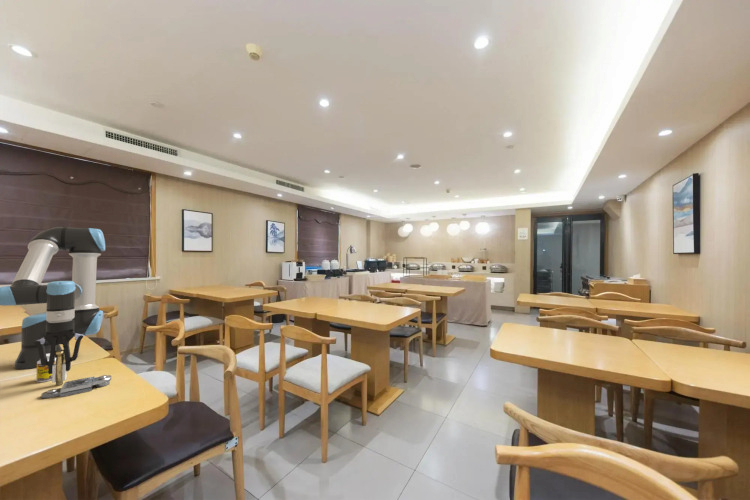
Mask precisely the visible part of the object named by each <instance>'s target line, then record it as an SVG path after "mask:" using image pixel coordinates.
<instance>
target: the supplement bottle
mask: <svg viewBox="0 0 750 500" xmlns="http://www.w3.org/2000/svg"><path fill="white" fill-rule="evenodd" d="M46 356H47V361H49V357H50V353H49V354H46ZM54 364H56V358H55V362H54ZM50 381H52V374H49V373H48V366H47V365H41V361H40V360H39V361H38V362H37V368H36V382H37V383H46V382H50Z"/></svg>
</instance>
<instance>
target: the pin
mask: <svg viewBox="0 0 750 500" xmlns="http://www.w3.org/2000/svg"><path fill="white" fill-rule="evenodd" d="M55 355H56V382H55V386H60V385H64V381H62V368H63V363H64V362H65V356H64V349H62V350H58V351H56V352H55Z"/></svg>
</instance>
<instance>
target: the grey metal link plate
mask: <svg viewBox="0 0 750 500" xmlns="http://www.w3.org/2000/svg"><path fill="white" fill-rule="evenodd" d="M111 380H112V375H111V374H110V375H109V374H108V375H107V374H104V375H100V376H96V377H95V376H90V377H84V378H83V377H82V378H79V379H78V378H77V379H74V380H69V381H64V382H63V384H62V386H61V387H59V388H52V389H49V390H47V391H46V390H45V391H44V392H42V393H41V394H40V395H41V396H40V398H41V399H42V400H44V399H46V400H47V399H51V398H52V399H53V398H57V397H60V398H64V397H69V396H72V395H77V394H83V393H88V392H92V391H93V387H94V386H95V387H96V388H103V387H107V386H109V385H110V382H111Z"/></svg>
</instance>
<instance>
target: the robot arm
mask: <svg viewBox="0 0 750 500" xmlns="http://www.w3.org/2000/svg"><path fill="white" fill-rule="evenodd" d="M27 249H28V251H27V254H26V255H25V257H24V259H23V261H22V263H21V265H20V267H19V269H18V270H17V273H16V275H15V277H14V279H13V281H12V283H11V285H6V286H1V287H0V306H13V307H15V306H26V305H27V306H28V305H37V304H39V305H40V304H46V311H45V312H40V313H36V314H32V315H28V316H26V317H24V318H23V319H22V323H21V327H20V329H21V341H20V342H21V343H20V344H21V349H20V351H19V353H18V355H17V357H16V360H15V363H14V369H16V370H28V369H30V370H31V369H35V368H36V369H37V362H38V361H39V360H40V361H41V365H47V366H48V373H49V374H52V380H51V381H52V382H51V383H52V384H54V383H56V364H54V362H55V358H56V355H55V352H56V351H58V350H64V363H63V368H62V381H63V382H66V380H67V378H68V377H67V375H68V374H67V373H68V372H69V371H70V370H71V367H72V366H71V362H74V361H76V360H77V358H78V355H79V350H80V347H81V346H80V345H81V343H82V339H83V338H84V337H86V336H90V335H91V336H92V335H96V334H97V333H98V332H99V331H100V329H101V326H102V323H103V319H104V311H103V310H100V306H99V305H97V304H96V298H97V297H96V293H97V292H96V291H97V267H98V266H97V265H98V257H100V256H101V255H102V252H105V251H106V239H105V236H104V233H103V231H102V229H100V228H93V227H91V228H90V227H68V226H56V227H52V228H48V229H45V230H43V231H41V232H39V233H37V234H36V235H35V236H33V237H32V238H31V239H30V241H29V243H28V244H27ZM59 251H62V252H63V251H66V252H68V255H69V256H71V257H72V274H71V275H72V276H71V280H57V281H50V282H48V283H47V284H42V282H43V281H44V277H45V275H46V272H47V271H48V268H49V266H50V264H51V261H52V258H53V256H54V255H56V254H57V253H58V252H59ZM73 338H74V340H76V341H75V343H74V349H73V352H72V356H71V349H70V341H72V339H73ZM61 345H62V347H61ZM62 348H63V349H62ZM49 353H50V357H49V361H47V356H46V354H49Z"/></svg>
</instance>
